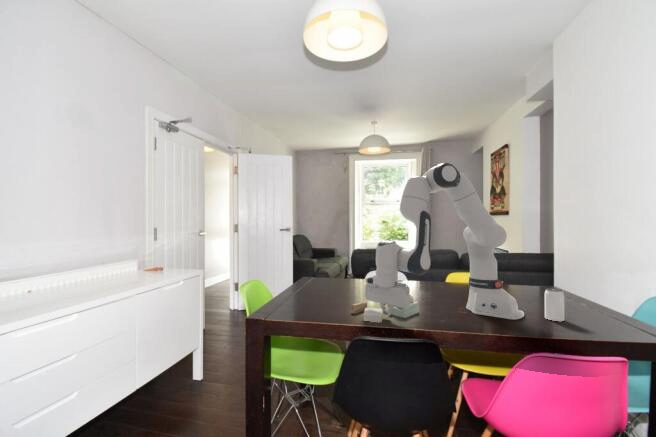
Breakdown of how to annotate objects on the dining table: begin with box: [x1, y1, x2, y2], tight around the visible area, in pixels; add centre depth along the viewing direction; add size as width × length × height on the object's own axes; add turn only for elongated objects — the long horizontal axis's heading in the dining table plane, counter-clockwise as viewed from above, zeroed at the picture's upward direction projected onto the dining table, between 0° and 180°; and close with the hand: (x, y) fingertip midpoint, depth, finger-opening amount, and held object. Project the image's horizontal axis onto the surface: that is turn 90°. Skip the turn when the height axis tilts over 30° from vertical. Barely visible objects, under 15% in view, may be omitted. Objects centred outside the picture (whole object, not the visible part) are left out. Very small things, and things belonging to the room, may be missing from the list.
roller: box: [397, 294, 415, 308], centre depth 133 cm, size 4×8×4 cm, turn 134°
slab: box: [363, 307, 383, 323], centre depth 126 cm, size 10×7×3 cm
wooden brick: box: [351, 300, 368, 315], centre depth 135 cm, size 2×8×4 cm, turn 134°
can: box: [544, 288, 565, 323], centre depth 125 cm, size 6×6×12 cm
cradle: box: [387, 301, 420, 319], centre depth 133 cm, size 8×11×4 cm
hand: (386, 314), depth 125 cm, fingers closed
